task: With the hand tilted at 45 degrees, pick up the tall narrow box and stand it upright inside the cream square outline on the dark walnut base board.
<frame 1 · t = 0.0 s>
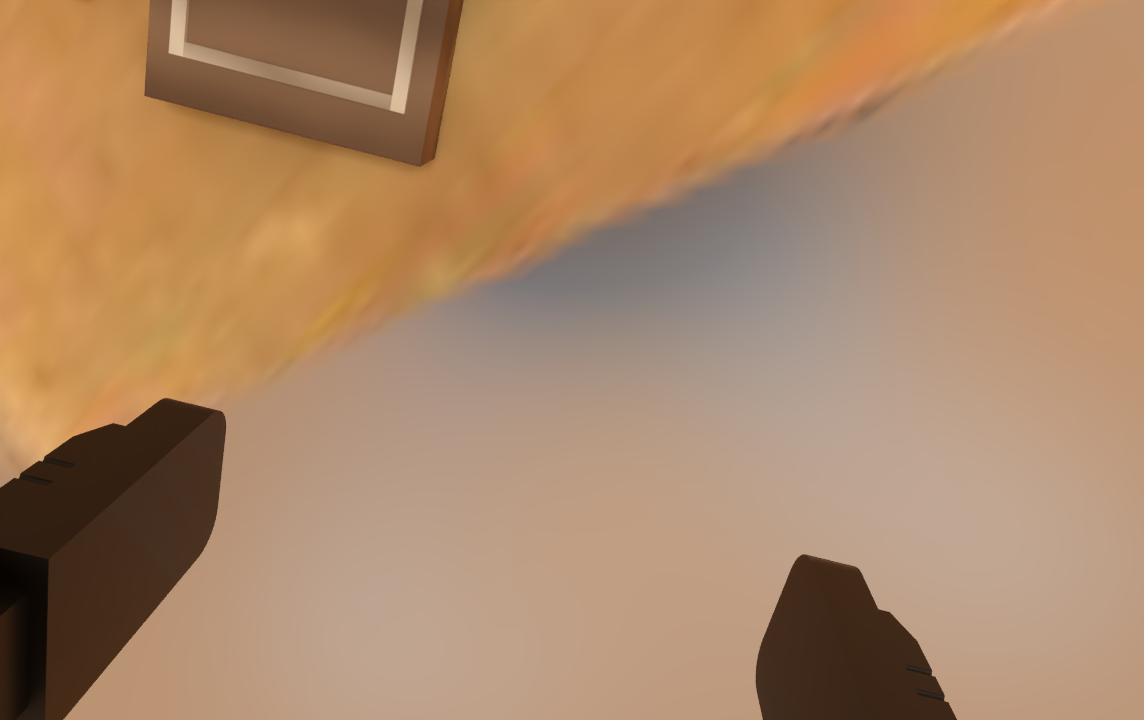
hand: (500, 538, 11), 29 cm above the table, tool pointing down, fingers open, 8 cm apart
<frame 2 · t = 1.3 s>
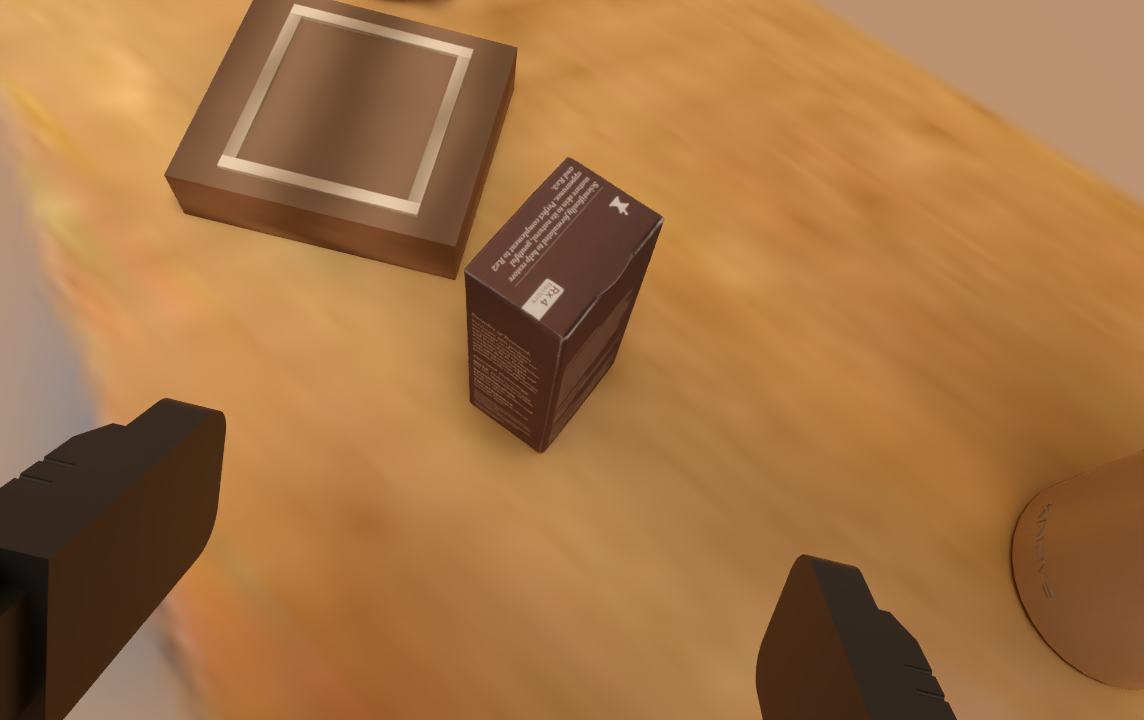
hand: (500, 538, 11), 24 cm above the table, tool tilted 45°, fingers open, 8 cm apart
box: (538, 382, 38), on the table
base board: (359, 147, 42), on the table
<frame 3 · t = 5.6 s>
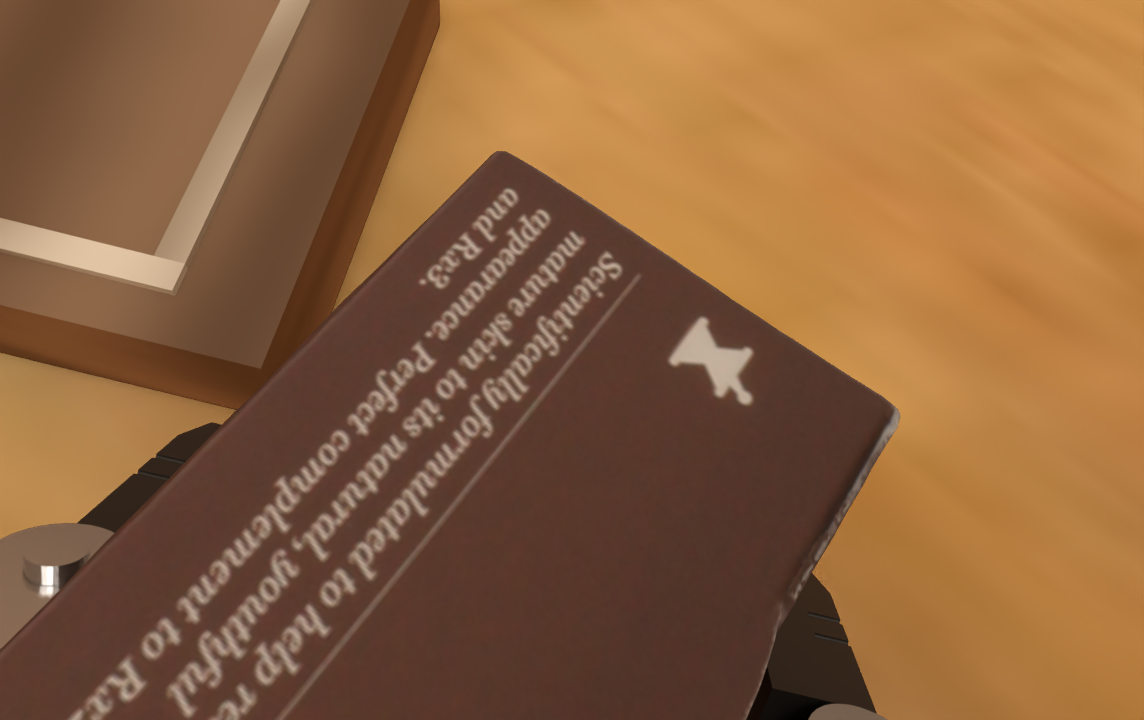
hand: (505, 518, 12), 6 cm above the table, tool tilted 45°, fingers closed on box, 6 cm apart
box: (467, 667, 17), on the table, touching gripper
base board: (113, 133, 20), on the table
when the fingers open (10 cm above the table, at t = 11.7 s): box stays where it is, resting on base board.
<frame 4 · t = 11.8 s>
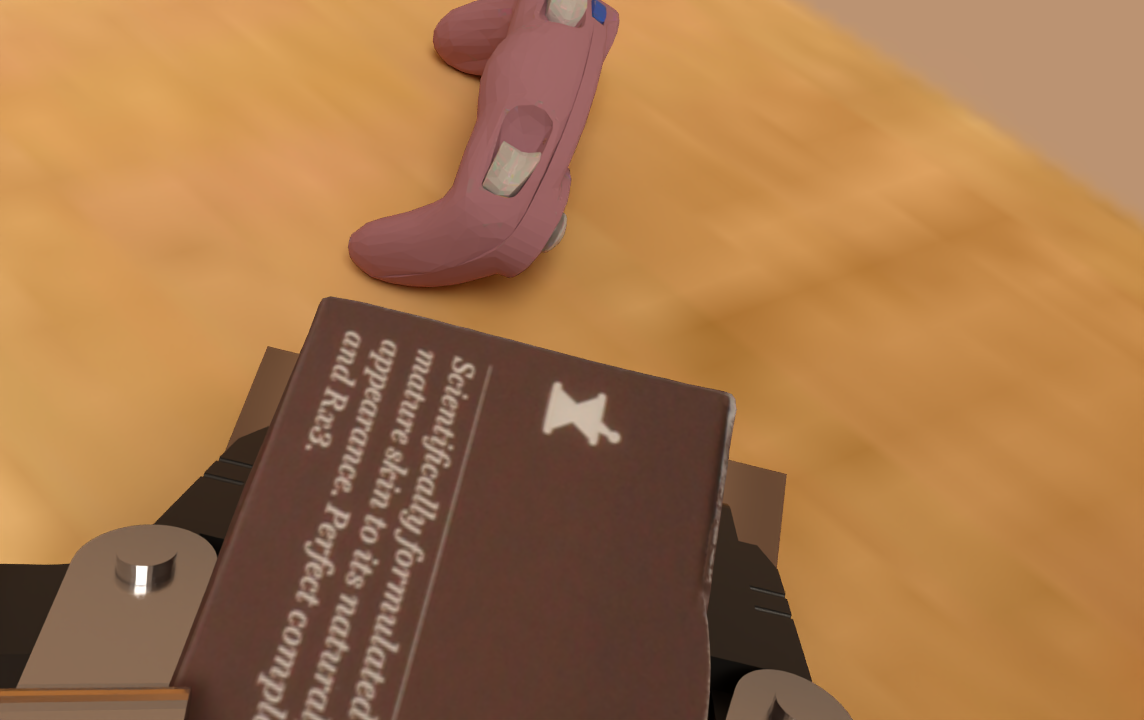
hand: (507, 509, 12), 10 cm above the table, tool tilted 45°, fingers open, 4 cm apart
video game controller: (485, 182, 27), on the table
box: (439, 702, 18), point 3 cm above the table, touching base board, gripper
base board: (464, 674, 21), on the table
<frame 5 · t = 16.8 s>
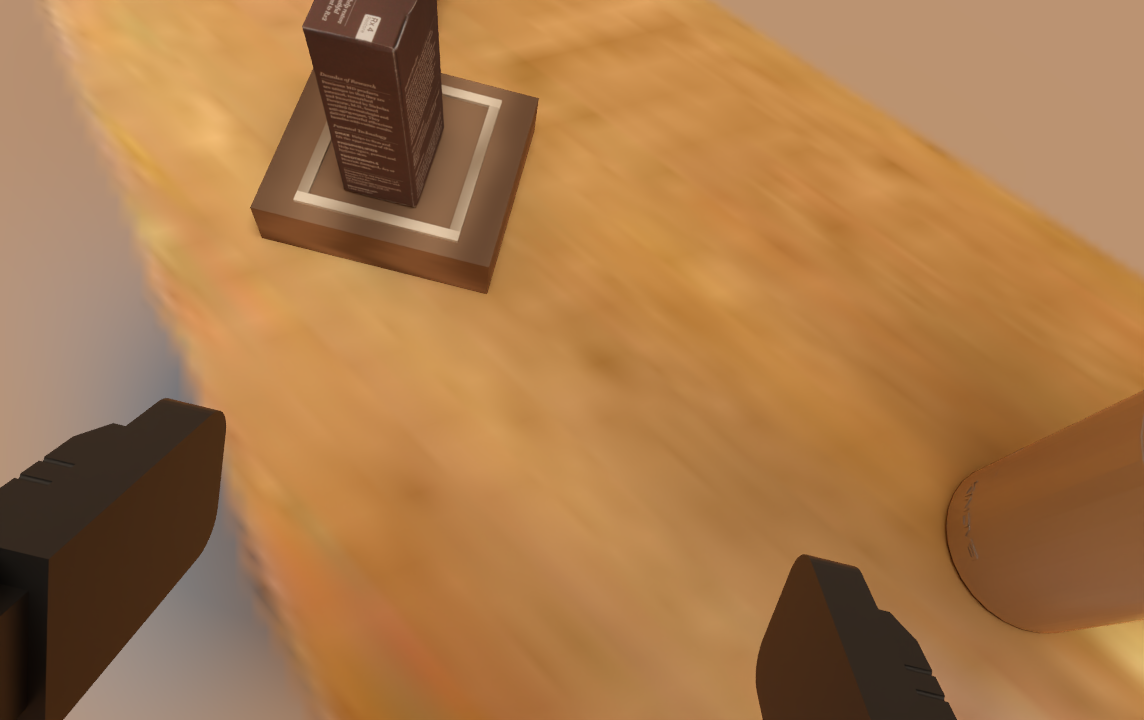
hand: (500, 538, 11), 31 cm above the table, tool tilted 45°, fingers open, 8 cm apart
box: (392, 161, 47), point 3 cm above the table, touching base board
base board: (405, 181, 50), on the table
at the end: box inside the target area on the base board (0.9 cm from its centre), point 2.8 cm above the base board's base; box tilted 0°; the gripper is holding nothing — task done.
